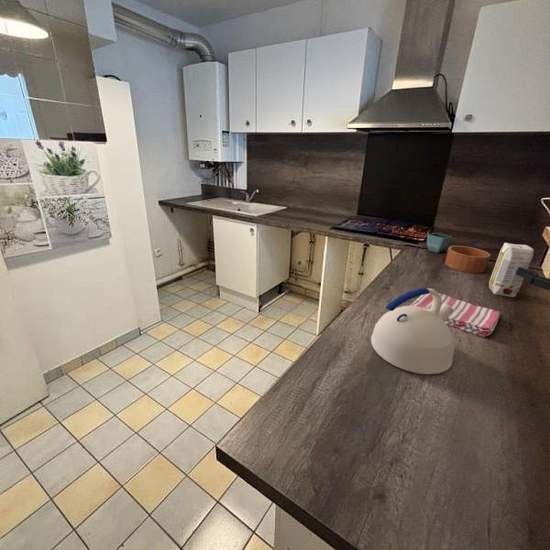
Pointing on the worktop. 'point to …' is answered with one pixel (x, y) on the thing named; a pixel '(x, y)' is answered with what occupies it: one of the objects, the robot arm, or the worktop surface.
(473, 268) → the pot
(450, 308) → the kettle
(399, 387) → the worktop surface
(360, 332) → the worktop surface
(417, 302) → the dish towel
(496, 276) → the juice carton
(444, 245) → the flower pot
